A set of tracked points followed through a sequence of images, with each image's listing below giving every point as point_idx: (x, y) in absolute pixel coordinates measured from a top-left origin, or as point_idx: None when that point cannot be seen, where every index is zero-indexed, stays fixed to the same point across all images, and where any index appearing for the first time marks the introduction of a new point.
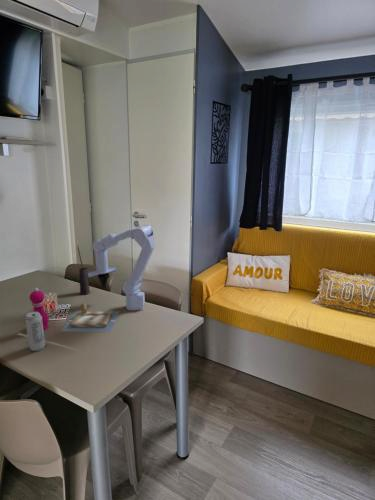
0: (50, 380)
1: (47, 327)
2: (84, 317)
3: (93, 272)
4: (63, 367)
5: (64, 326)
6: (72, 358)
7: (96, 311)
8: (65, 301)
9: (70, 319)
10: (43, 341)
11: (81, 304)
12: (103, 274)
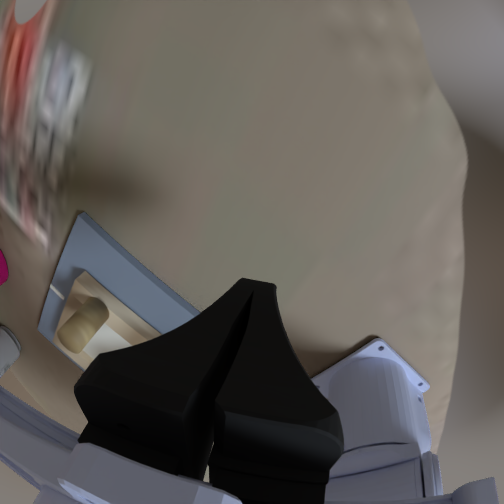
0: (56, 421)
1: (2, 282)
2: (100, 330)
3: (4, 458)
4: (68, 419)
5: (42, 313)
6: (80, 417)
7: (172, 302)
8: (81, 15)
9: (56, 282)
10: (11, 364)
11: (60, 337)
12: (213, 479)
